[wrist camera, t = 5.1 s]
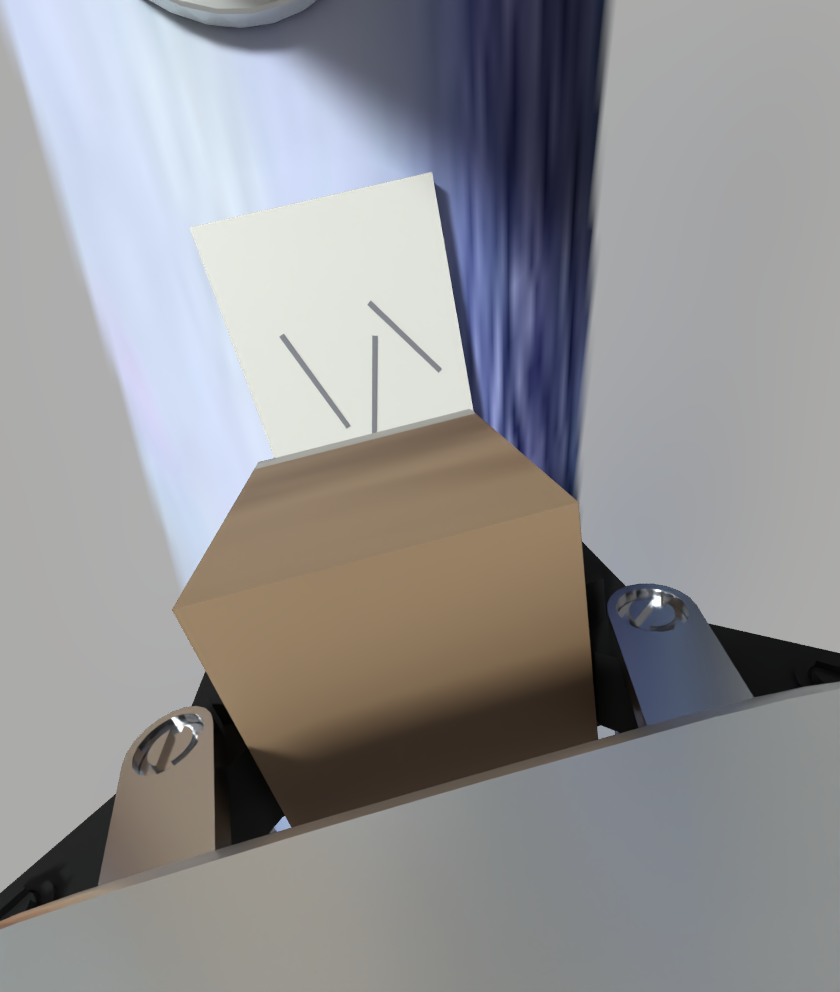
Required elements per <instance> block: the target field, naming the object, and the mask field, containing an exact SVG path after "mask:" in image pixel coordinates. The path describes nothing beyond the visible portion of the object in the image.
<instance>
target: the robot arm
mask: <svg viewBox="0 0 840 992" xmlns="http://www.w3.org/2000/svg"><path fill="white" fill-rule="evenodd" d="M149 1H151V2H153V3H155V4H157V5H158V6H160V7H162V8H164V9H165V10H167V11H169V12H171V13H174V14H177V15H180V16H183V17H186V18H189V19H192V20H195V21H198V22H201V23H204V24H207V25H217V26H227V27H237V28H244V27H251V26H258V25H265V24H272V23H275V22H278V21H280V20H282V19H285V18H287V17H289V16H292V15H294V14H297V13H299V12H301V11H304V10H305V9H306V8H308V7H309V6H310V5H312V4H313V3H314V2H316V1H317V0H149ZM582 551H583V563H584V575H585V587H586V599H587V612H588V624H589V636H590V648H591V660H592V672H593V684H594V696H595V708H596V720H597V726H600V725H602V726H604V727H607V728H610V729H612V730H615V735H613V736H609V737H606V738H602V739H598V740H595V741H591V742H588V743H584V744H581V745H577V746H574V747H570V748H567V749H563V750H559V751H556V752H552V753H549V754H545V755H542V756H538V757H535V758H531V759H527V760H524V761H520V762H517V763H513V764H510V765H506V766H503V767H499V768H496V769H492V770H489V771H485V772H482V773H479V774H475V775H472V776H468V777H465V778H461V779H458V780H454V781H451V782H447V783H444V784H440V785H437V786H433V787H430V788H426V789H423V790H419V791H416V792H412V793H409V794H406V795H402V796H399V797H395V798H392V799H388V800H385V801H381V802H378V803H374V804H371V805H367V806H364V807H361V808H357V809H354V810H350V811H347V812H343V813H340V814H336V815H333V816H330V817H326V818H323V819H319V820H316V821H313V822H309V823H306V824H302V825H299V826H296V827H292V828H289V829H285V830H282V831H279V832H277V830H276V827H275V825H276V824H277V823H278V822H279V821H280V819H281V818H282V817H283V816H285V815H284V813H283V811H282V809H281V807H280V805H279V804H278V802H277V800H276V798H275V796H274V795H273V793H272V791H271V789H270V787H269V785H268V784H267V782H266V780H265V778H264V776H263V775H262V773H261V771H260V769H259V767H258V765H257V764H256V762H255V760H254V758H253V756H252V754H251V753H250V751H249V749H248V747H247V745H246V744H245V742H244V740H243V738H242V736H241V734H240V733H239V731H238V729H237V727H236V725H235V724H234V722H233V720H232V718H231V716H230V714H229V713H228V711H227V709H226V707H225V705H224V704H223V702H222V700H221V698H220V696H219V694H218V693H217V691H216V689H215V687H214V685H213V684H212V682H211V680H210V678H209V676H208V674H207V673H206V671H205V674H204V676H203V679H202V681H201V684H200V687H199V689H198V691H197V694H196V697H195V699H194V702H193V704H192V706H191V707H184V708H182V709H179V710H176V711H173V712H171V713H169V714H167V715H166V716H164V717H162V718H160V719H159V720H157V721H156V722H155V723H153V724H152V725H151V726H149V727H148V728H147V729H146V730H145V731H144V732H143V733H142V734H141V735H140V736H139V737H138V738H137V739H136V740H135V741H134V743H133V744H132V746H131V747H130V749H129V750H128V752H127V753H126V756H125V758H124V761H123V764H122V767H121V772H120V777H119V782H118V787H117V792H116V794H115V795H114V796H113V797H112V798H111V799H109V800H108V801H107V802H106V803H105V804H104V805H102V806H101V807H100V808H99V809H98V810H97V811H95V812H94V813H93V814H92V815H91V816H90V817H88V818H87V819H86V820H85V821H84V822H83V823H82V824H80V825H79V826H78V827H77V828H76V829H75V830H73V831H72V832H71V833H70V834H69V835H68V836H66V837H65V838H64V839H63V840H62V841H61V842H59V843H58V844H57V845H56V846H55V847H54V848H52V849H51V850H50V851H49V852H48V853H47V854H45V855H44V856H43V857H42V858H41V859H40V860H38V861H37V862H36V863H35V864H34V865H33V866H31V867H30V868H29V869H28V870H27V871H26V872H24V873H23V874H22V875H21V876H20V877H19V878H17V879H16V880H15V881H14V882H13V883H12V884H10V885H9V886H8V887H7V888H6V889H5V890H4V891H2V892H1V893H0V992H840V653H836V652H832V651H828V650H823V649H819V648H814V647H810V646H805V645H800V644H797V643H792V642H788V641H783V640H779V639H774V638H770V637H766V636H761V635H757V634H752V633H748V632H743V631H739V630H734V629H730V628H725V627H721V626H716V625H712V624H708V623H707V621H706V619H705V618H704V616H703V615H702V613H701V611H700V610H699V608H698V606H697V605H696V604H695V603H694V602H693V601H692V600H691V598H690V597H688V596H687V595H685V594H683V593H682V592H680V591H678V590H676V589H673V588H670V587H667V586H663V585H656V584H636V585H630V586H625V585H624V584H623V583H622V582H621V581H620V580H619V579H618V578H617V577H616V576H615V575H614V574H613V573H612V572H611V571H610V570H609V569H608V568H607V567H606V566H605V565H604V564H603V563H602V562H601V561H600V559H599V558H598V557H596V556H595V554H594V553H593V552H592V551H591V550H590V549H589V548H588V547H587V546H586V545H585V544H584V543H583V542H582Z"/></svg>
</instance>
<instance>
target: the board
mask: <svg viewBox="0 0 840 992" xmlns="http://www.w3.org/2000/svg"><path fill="white" fill-rule="evenodd" d="M190 230H191V233H192V235H193V238H194V241H195V244H196V246H197V249H198V252H199V254H200V257H201V260H202V263H203V265H204V268H205V271H206V273H207V276H208V279H209V282H210V284H211V287H212V290H213V292H214V295H215V298H216V301H217V303H218V306H219V309H220V311H221V314H222V317H223V320H224V322H225V325H226V328H227V330H228V333H229V336H230V339H231V341H232V344H233V347H234V349H235V352H236V355H237V358H238V360H239V363H240V366H241V368H242V371H243V374H244V377H245V379H246V382H247V385H248V387H249V390H250V393H251V396H252V398H253V401H254V404H255V406H256V409H257V412H258V414H259V417H260V420H261V423H262V425H263V428H264V431H265V433H266V436H267V439H268V442H269V444H270V447H271V450H272V452H273V455H274V458H277V457H281V456H285V455H289V454H293V453H297V452H301V451H305V450H309V449H313V448H317V447H321V446H325V445H329V444H333V443H337V442H340V441H344V440H348V439H352V438H356V437H360V436H364V435H368V434H372V433H376V432H380V431H384V430H388V429H392V428H396V427H400V426H404V425H408V424H412V423H416V422H420V421H424V420H427V419H431V418H435V417H439V416H443V415H447V414H451V413H455V412H459V411H463V410H467V409H471V410H472V411H473V405H472V400H471V394H470V388H469V382H468V377H467V371H466V365H465V359H464V354H463V348H462V342H461V336H460V331H459V325H458V319H457V313H456V308H455V302H454V296H453V290H452V285H451V279H450V273H449V267H448V261H447V256H446V250H445V244H444V238H443V233H442V227H441V221H440V215H439V210H438V204H437V198H436V192H435V187H434V181H433V175H432V172H429V173H425V174H421V175H416V176H412V177H408V178H403V179H399V180H394V181H390V182H386V183H381V184H377V185H373V186H368V187H364V188H360V189H355V190H351V191H346V192H342V193H338V194H333V195H329V196H325V197H320V198H316V199H312V200H307V201H303V202H298V203H294V204H290V205H285V206H281V207H277V208H272V209H268V210H264V211H259V212H255V213H250V214H246V215H242V216H237V217H233V218H229V219H224V220H220V221H215V222H211V223H207V224H202V225H198V226H194V227H190ZM473 412H474V411H473Z"/></svg>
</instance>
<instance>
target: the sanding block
mask: <svg viewBox="0 0 840 992" xmlns="http://www.w3.org/2000/svg"><path fill="white" fill-rule="evenodd" d="M172 611H173V612H174V614H175V616H176V618H177V620H178V622H179V623H180V625H181V627H182V629H183V631H184V633H185V634H186V636H187V638H188V640H189V641H190V643H191V645H192V647H193V649H194V651H195V653H196V654H197V656H198V658H199V660H200V661H201V663H202V665H203V667H204V669H205V671H206V673H207V674H208V676H209V678H210V680H211V682H212V684H213V685H214V687H215V689H216V691H217V693H218V694H219V696H220V698H221V700H222V702H223V704H224V705H225V707H226V709H227V711H228V713H229V714H230V716H231V718H232V720H233V722H234V724H235V725H236V727H237V729H238V731H239V733H240V734H241V736H242V738H243V740H244V742H245V744H246V745H247V747H248V749H249V751H250V753H251V754H252V756H253V758H254V760H255V762H256V764H257V765H258V767H259V769H260V771H261V773H262V775H263V776H264V778H265V780H266V782H267V784H268V785H269V787H270V789H271V791H272V793H273V795H274V796H275V798H276V800H277V802H278V804H279V805H280V807H281V809H282V811H283V813H284V815H285V816H286V818H287V820H288V822H289V824H290V825H291V827H296V826H299V825H302V824H306V823H309V822H313V821H316V820H319V819H323V818H326V817H330V816H333V815H336V814H340V813H343V812H347V811H350V810H354V809H357V808H361V807H364V806H367V805H371V804H374V803H378V802H381V801H385V800H388V799H392V798H395V797H399V796H402V795H406V794H409V793H412V792H416V791H419V790H423V789H426V788H430V787H433V786H437V785H440V784H444V783H447V782H451V781H454V780H458V779H461V778H465V777H468V776H472V775H475V774H479V773H482V772H485V771H489V770H492V769H496V768H499V767H503V766H506V765H510V764H513V763H517V762H520V761H524V760H527V759H531V758H535V757H538V756H542V755H545V754H549V753H552V752H556V751H559V750H563V749H567V748H570V747H574V746H577V745H581V744H584V743H588V742H591V741H595V740H598V733H597V720H596V708H595V696H594V684H593V672H592V660H591V648H590V636H589V624H588V612H587V599H586V587H585V575H584V563H583V551H582V539H581V527H580V515H579V503H578V501H576V500H575V499H574V498H573V497H572V496H571V495H569V494H568V493H567V492H566V491H565V490H564V489H563V488H561V487H560V486H559V485H558V484H557V483H556V482H554V481H553V480H552V479H551V478H550V477H549V476H547V475H546V474H545V473H544V472H543V471H542V470H541V469H539V468H538V467H537V466H536V465H535V464H534V463H532V462H531V461H530V460H529V459H528V458H527V457H525V456H524V455H523V454H522V453H521V452H520V451H519V450H517V449H516V448H515V447H514V446H513V445H512V444H510V443H509V442H508V441H507V440H506V439H505V438H503V437H502V436H501V435H500V434H499V433H498V432H497V431H495V430H494V429H493V428H492V427H491V426H490V425H488V424H487V423H486V422H485V421H484V420H483V419H481V418H480V417H479V416H478V415H477V414H476V413H475V412H473V411H472V410H471V409H467V410H463V411H459V412H455V413H451V414H447V415H443V416H439V417H435V418H431V419H427V420H424V421H420V422H416V423H412V424H408V425H404V426H400V427H396V428H392V429H388V430H384V431H380V432H376V433H372V434H368V435H364V436H360V437H356V438H352V439H348V440H344V441H340V442H337V443H333V444H329V445H325V446H321V447H317V448H313V449H309V450H305V451H301V452H297V453H293V454H289V455H285V456H281V457H277V458H273V459H269V460H265V461H261V462H258V464H257V466H256V467H255V469H254V471H253V472H252V474H251V476H250V478H249V479H248V481H247V483H246V484H245V486H244V488H243V489H242V491H241V493H240V495H239V496H238V498H237V500H236V501H235V503H234V505H233V507H232V508H231V510H230V512H229V513H228V515H227V517H226V518H225V520H224V522H223V524H222V525H221V527H220V529H219V530H218V532H217V534H216V536H215V537H214V539H213V541H212V542H211V544H210V546H209V548H208V549H207V551H206V553H205V554H204V556H203V558H202V559H201V561H200V563H199V565H198V566H197V568H196V570H195V571H194V573H193V575H192V577H191V578H190V580H189V582H188V583H187V585H186V587H185V588H184V590H183V592H182V594H181V595H180V597H179V599H178V600H177V602H176V604H175V606H174V607H173V609H172Z"/></svg>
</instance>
